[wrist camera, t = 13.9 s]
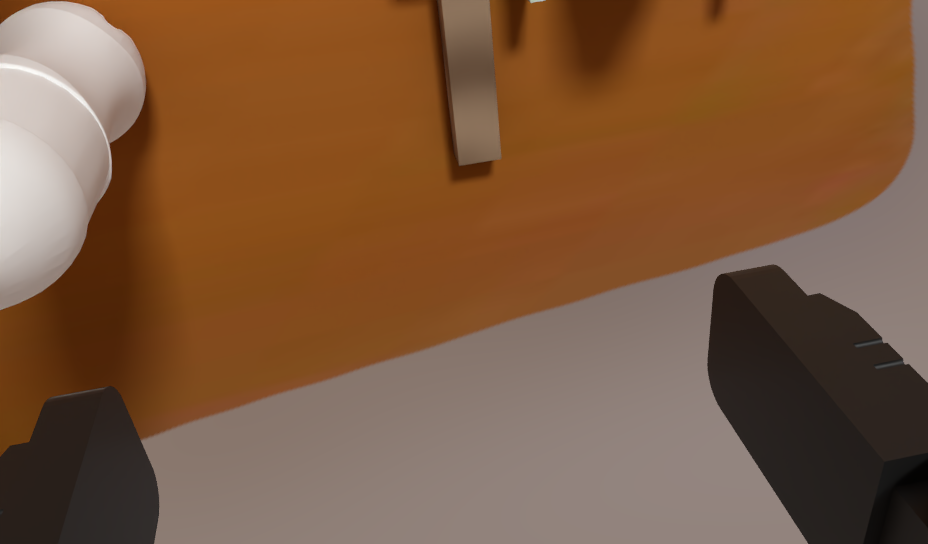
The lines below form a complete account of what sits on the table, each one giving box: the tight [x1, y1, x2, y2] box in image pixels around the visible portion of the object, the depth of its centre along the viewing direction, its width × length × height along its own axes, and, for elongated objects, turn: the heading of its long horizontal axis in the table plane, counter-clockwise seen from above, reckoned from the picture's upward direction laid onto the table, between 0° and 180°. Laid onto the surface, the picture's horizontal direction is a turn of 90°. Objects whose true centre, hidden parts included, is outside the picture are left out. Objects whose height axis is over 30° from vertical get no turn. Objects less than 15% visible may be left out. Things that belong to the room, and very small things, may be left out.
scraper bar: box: [437, 0, 501, 166], centre depth 45 cm, size 13×6×3 cm, turn 6°
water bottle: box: [0, 1, 146, 310], centre depth 32 cm, size 7×7×25 cm
